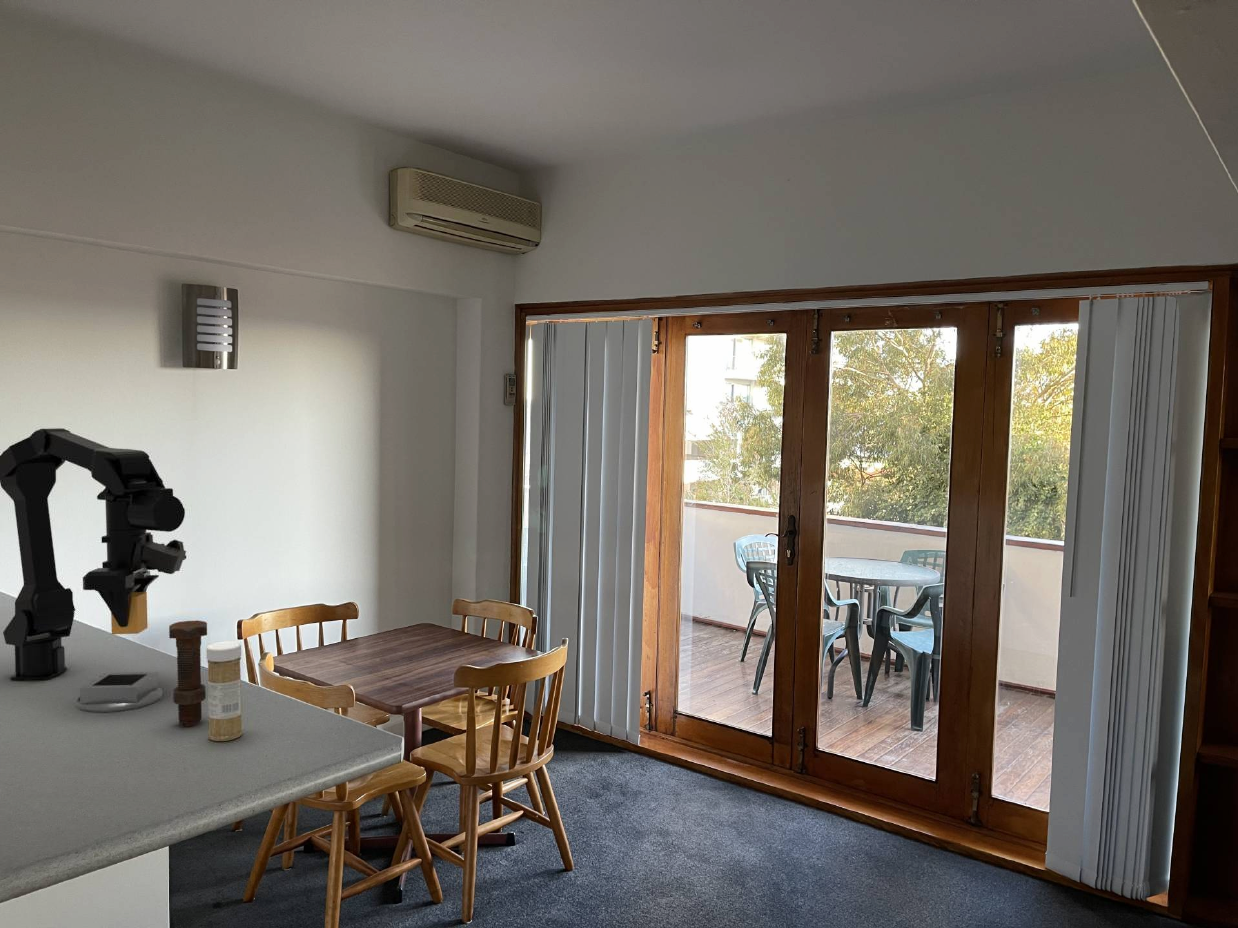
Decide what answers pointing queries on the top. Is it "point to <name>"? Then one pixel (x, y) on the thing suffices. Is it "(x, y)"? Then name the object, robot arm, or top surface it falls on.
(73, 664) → the top surface
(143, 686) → the rosette collar
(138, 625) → the orange rectangular block
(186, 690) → the bolt
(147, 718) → the top surface
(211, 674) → the spice jar
